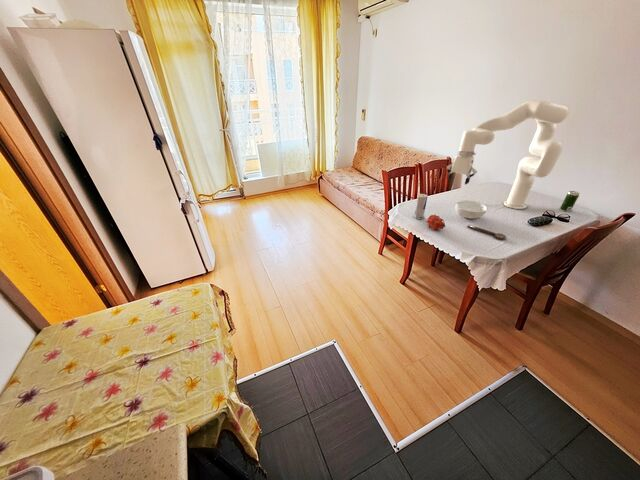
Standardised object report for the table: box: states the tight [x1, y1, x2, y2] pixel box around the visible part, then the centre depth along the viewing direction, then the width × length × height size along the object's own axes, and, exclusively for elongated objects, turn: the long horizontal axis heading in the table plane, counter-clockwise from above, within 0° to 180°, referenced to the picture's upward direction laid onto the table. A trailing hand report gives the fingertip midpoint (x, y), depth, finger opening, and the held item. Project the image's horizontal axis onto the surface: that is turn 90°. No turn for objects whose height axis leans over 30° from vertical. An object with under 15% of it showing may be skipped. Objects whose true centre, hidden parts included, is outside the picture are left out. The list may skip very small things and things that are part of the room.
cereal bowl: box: [454, 199, 488, 220], centre depth 157 cm, size 17×17×7 cm
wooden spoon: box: [467, 224, 507, 241], centre depth 141 cm, size 20×5×2 cm, turn 41°
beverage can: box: [413, 193, 428, 220], centre depth 157 cm, size 6×6×15 cm
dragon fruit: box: [425, 214, 446, 232], centre depth 147 cm, size 8×8×12 cm
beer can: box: [559, 190, 581, 213], centre depth 156 cm, size 5×5×12 cm
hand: (457, 182), depth 154 cm, fingers open, 9 cm apart
